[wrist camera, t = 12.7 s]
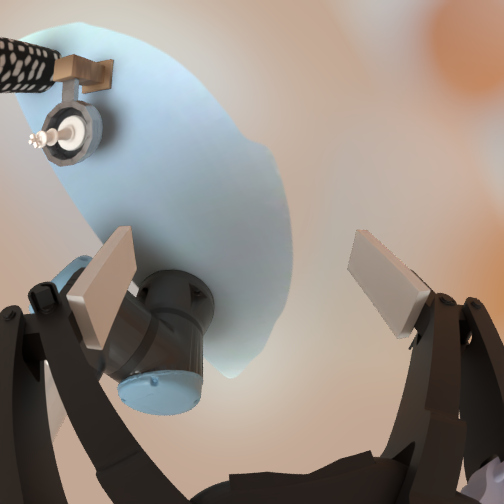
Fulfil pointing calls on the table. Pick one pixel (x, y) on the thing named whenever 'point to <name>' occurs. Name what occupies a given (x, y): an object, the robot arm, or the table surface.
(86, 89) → the walnut post
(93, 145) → the cup bracket
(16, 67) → the white-spotted black cylinder
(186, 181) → the table surface
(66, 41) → the table surface
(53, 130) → the chess piece
